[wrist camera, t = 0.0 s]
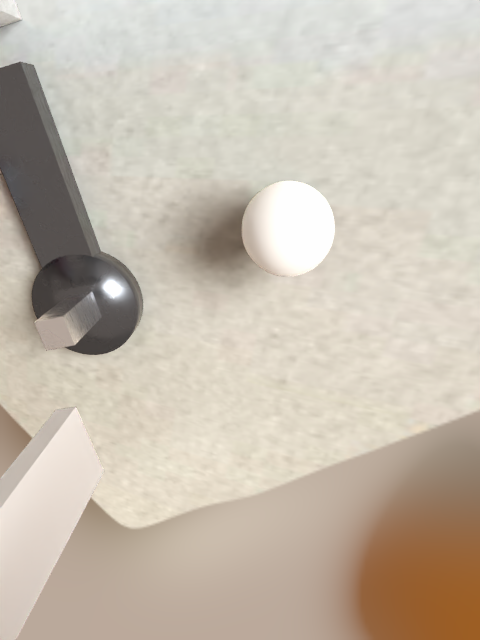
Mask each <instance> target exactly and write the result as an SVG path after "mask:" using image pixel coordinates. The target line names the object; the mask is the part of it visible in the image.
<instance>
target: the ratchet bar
mask: <svg viewBox="0 0 480 640" xmlns="http://www.w3.org/2000/svg"><path fill="white" fill-rule="evenodd" d="M0 168H1V170H2V173H3V175H4V178H5V180H6V182H7V185H8V187H9V190H10V192H11V195H12V197H13V199H14V202H15V204H16V207H17V209H18V211H19V214H20V216H21V219H22V221H23V223H24V226H25V228H26V231H27V233H28V236H29V238H30V240H31V243H32V245H33V248H34V250H35V252H36V255H37V257H38V260H39V262H40V264H41V267H42V269H41V271H40V272H39V273H38V275H37V277H36V279H35V282H34V285H33V290H32V302H33V308H34V311H35V314H36V317H37V320H36V321H35V322H34V324H35V326H36V328H37V331H38V333H39V335H40V337H41V340H42V342H43V344H44V346H45V349H46V351H47V350H52V349H57V348H63V347H66V348H68V349H70V350H72V351H75V352H78V353H82V354H89V355H97V354H104V353H108V352H111V351H113V350H115V349H117V348H119V347H120V346H121V345H123V344H124V343H125V342H126V341H127V340H128V339H129V337H130V336H131V335H132V333H133V332H134V330H135V329H136V327H137V326H138V324H139V322H140V320H141V316H142V312H143V299H142V293H141V290H140V287H139V285H138V283H137V281H136V279H135V277H134V276H133V274H132V273H131V272H130V271H129V269H128V268H127V267H126V266H125V265H124V264H122V263H121V262H120V261H119V260H117V259H116V258H114V257H112V256H110V255H109V254H106V253H104V252H101V251H100V248H99V245H98V242H97V240H96V237H95V234H94V231H93V229H92V226H91V223H90V220H89V217H88V215H87V212H86V209H85V206H84V204H83V201H82V198H81V195H80V192H79V190H78V187H77V184H76V181H75V179H74V176H73V173H72V170H71V167H70V165H69V162H68V159H67V156H66V154H65V151H64V148H63V145H62V142H61V140H60V137H59V134H58V131H57V129H56V126H55V123H54V120H53V117H52V115H51V112H50V109H49V106H48V104H47V101H46V98H45V95H44V93H43V90H42V87H41V84H40V81H39V79H38V76H37V73H36V70H35V68H34V65H32V64H27V63H23V62H18V63H15V64H12V65H9V66H5V67H2V68H0Z"/></svg>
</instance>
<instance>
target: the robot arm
mask: <svg viewBox="0 0 480 640" xmlns="http://www.w3.org/2000/svg"><path fill="white" fill-rule="evenodd" d="M103 473H104V469H103V467H102V465H101V463H100V460H99V458H98V456H97V453H96V451H95V449H94V447H93V444H92V442H91V440H90V437H89V435H88V433H87V431H86V428H85V426H84V424H83V421H82V419H81V417H80V415H79V412H78V410H77V408H76V407H71V408H64V409H58V410H55V411H54V412H53V414H52V415H51V416H50V417H49V419H48V420H47V421H46V422H45V424H44V425H43V426H42V427H41V429H40V430H39V431H38V432H37V433H36V435H35V436H34V437H33V438H32V440H31V441H30V442H29V443H28V445H27V446H26V447H25V448H24V450H23V451H22V452H21V453H20V455H19V456H18V457H17V458H16V459H15V461H14V462H13V463H12V464H11V466H10V467H9V468H8V469H7V471H6V472H5V473H4V474H3V476H2V477H1V478H0V640H16V639H17V637H18V635H19V633H20V631H21V630H22V627H23V626H24V624H25V622H26V620H27V618H28V616H29V614H30V612H31V610H32V608H33V607H34V605H35V603H36V601H37V599H38V597H39V595H40V593H41V591H42V589H43V587H44V586H45V584H46V582H47V580H48V578H49V576H50V574H51V572H52V570H53V568H54V566H55V564H56V562H57V561H58V559H59V557H60V555H61V553H62V551H63V549H64V547H65V545H66V543H67V541H68V540H69V538H70V535H71V534H72V532H73V530H74V528H75V526H76V524H77V522H78V521H79V519H80V517H81V515H82V513H83V511H84V509H85V507H86V505H87V503H88V501H89V499H90V498H91V496H92V494H93V492H94V490H95V488H96V486H97V484H98V482H99V480H100V478H101V477H102V475H103Z"/></svg>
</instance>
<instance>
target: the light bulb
mask: <svg viewBox="0 0 480 640" xmlns="http://www.w3.org/2000/svg"><path fill="white" fill-rule="evenodd" d="M334 233H335V223H334V217H333V213H332V210H331V207H330V205H329V204H328V202H327V200H326V199H325V198H324V197H323V196H322V195H321V193H320V192H318V191H317V190H316V189H314V188H313V187H311V186H309V185H307V184H304V183H302V182H297V181H281V182H277V183H273V184H271V185H269V186H267V187H265V188H264V189H262V190H261V191H260V192H258V193H257V194H256V195H255V196H254V197H253V199H252V200H251V201H250V203H249V204H248V206H247V208H246V210H245V213H244V216H243V221H242V239H243V243H244V246H245V249H246V251H247V253H248V254H249V256H250V257H251V259H252V260H253V261H254V262H255V263H256V264H257V265H258V266H259V267H260V268H262V269H263V270H265V271H266V272H269V273H271V274H274V275H278V276H297V275H301V274H304V273H306V272H308V271H310V270H312V269H313V268H315V267H316V266H317V265H318V264H319V263H320V262H321V261H322V260H323V259H324V258H325V256H326V255H327V254H328V252H329V250H330V248H331V246H332V243H333V239H334Z"/></svg>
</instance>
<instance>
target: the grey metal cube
mask: <svg viewBox="0 0 480 640" xmlns="http://www.w3.org/2000/svg"><path fill="white" fill-rule="evenodd" d="M19 20H22V17H21V14H20V12H19V9H18V6H17V3H16V0H0V27H2V26H5V25H8V24H11V23H14V22H16V21H19Z"/></svg>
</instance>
